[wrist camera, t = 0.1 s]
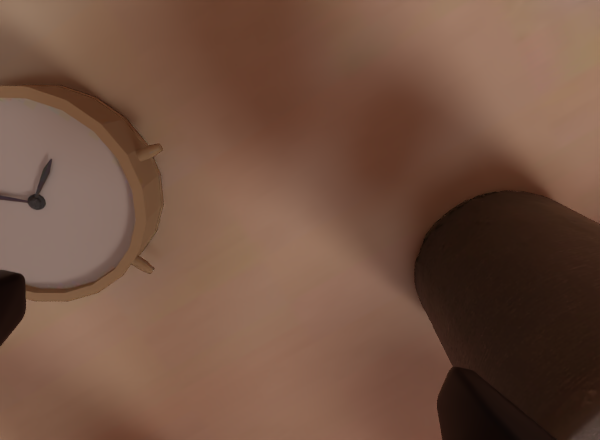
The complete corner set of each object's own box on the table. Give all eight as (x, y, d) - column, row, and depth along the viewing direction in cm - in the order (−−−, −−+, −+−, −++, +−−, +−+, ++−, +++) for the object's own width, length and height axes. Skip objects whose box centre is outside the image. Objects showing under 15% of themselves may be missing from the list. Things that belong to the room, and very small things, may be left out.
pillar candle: (399, 214, 22) (543, 433, 8) (578, 169, 21) (1110, 337, 7) (428, 351, 25) (572, 690, 11) (587, 319, 24) (975, 653, 10)
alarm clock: (146, 315, 22) (-178, 291, 19) (162, 273, 26) (-96, 248, 23) (159, 110, 18) (-240, 42, 15) (176, 103, 23) (-129, 49, 20)
